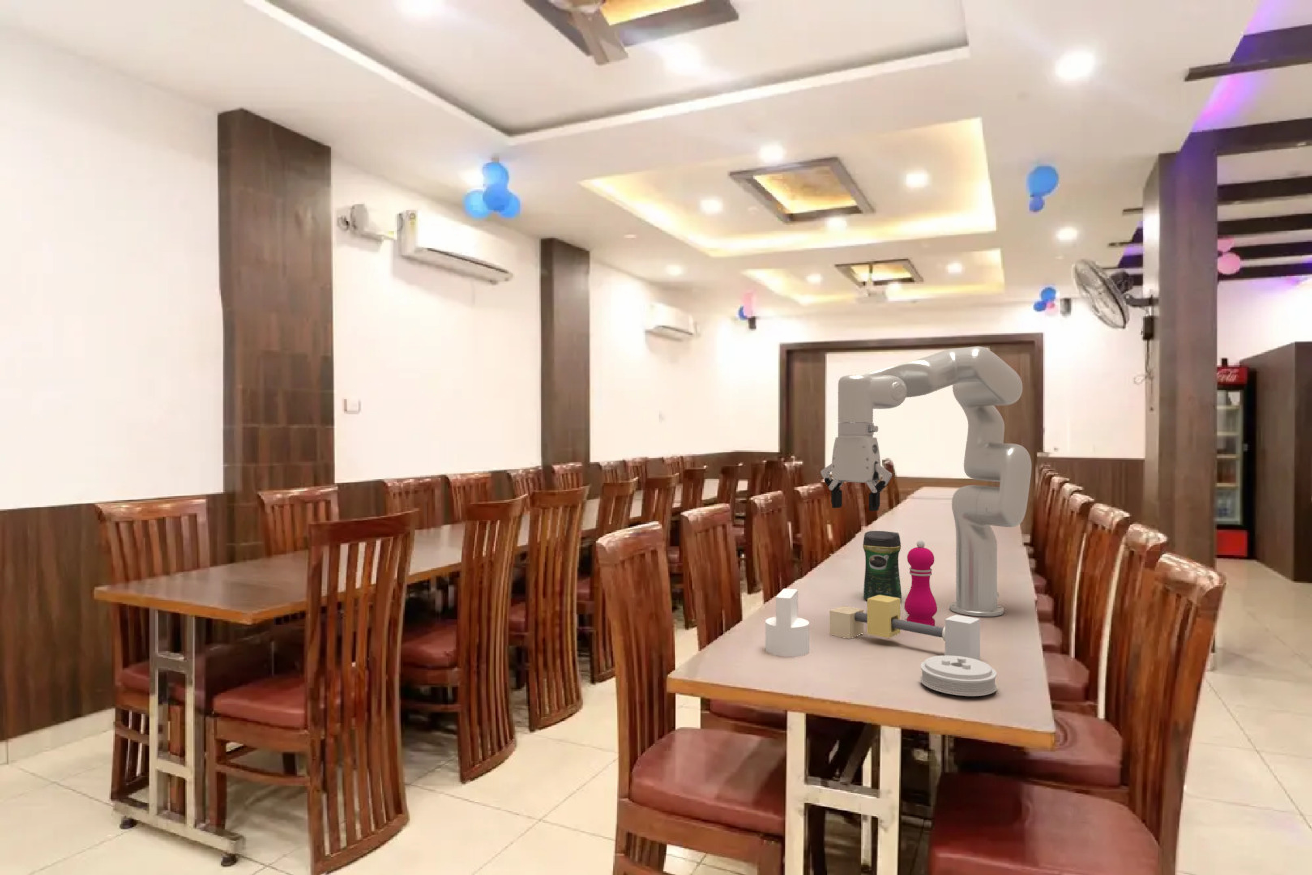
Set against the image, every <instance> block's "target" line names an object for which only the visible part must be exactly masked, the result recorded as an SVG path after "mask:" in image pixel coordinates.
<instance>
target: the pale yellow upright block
mask: <svg viewBox="0 0 1312 875" xmlns="http://www.w3.org/2000/svg"><path fill="white" fill-rule="evenodd" d="M866 603H867V608H866V611H867V612H866V614H867V623H866V624H867V625H866V627H867V628H866V629H867V630H866V631H867V632H866V633H867V635H872V636H876V637H881V638H887V639H890V638H892V637H895V636H897V635H899V634H900V635H901V630H900V629H895V628H891V618H893V619H899V620H901V600H900V598H896V597H890V596H883V595H877V596H874V597H871V598H868V599H867V600H866Z"/></svg>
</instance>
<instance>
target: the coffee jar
mask: <svg viewBox="0 0 1312 875" xmlns="http://www.w3.org/2000/svg"><path fill="white" fill-rule="evenodd" d="M901 542H902V541H901V538H900V533H899V532H893V531H885V530H869V531H867V532H865V533H864V536H863V542H862V548H863V551H864V556H865V566H864V567H865V569H864V581H863V582H864V583H863V592H862V593H863V594H862V595H863V596H862V597H863V598H864V599H865V600H866V601H867V599H868V598H871V597H874V596H877V595H883V596H890V597H896V598H900V601H901V600H902V586H901V579H900V569H899V568H900V567H899V555H900V552H901V549H902V543H901Z"/></svg>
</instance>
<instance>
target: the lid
mask: <svg viewBox="0 0 1312 875" xmlns="http://www.w3.org/2000/svg"><path fill="white" fill-rule="evenodd" d="M919 668H920V670H921V676H920V682H921V684H922V685H924V686H925V687H927V688H929V689H931V690H934V691H937V692H941V693H942V694H943V693H944V694H949V695H953V696H954V695H955V696H962V697H963V696H965V697H979V696H980V697H981V696H987V695H990V694H994V693H995V692H996V691H997V688H998V687H997V684H996V682H995V681H996V678H997V676H998V674H997V671H996V670H995V669H994V668H992V666H991V665H990V664H988V663H986V662H985V661H981V660H980V659H978V660H976V659H972V658H968V657H961V656H945V655H935V656H930V657H928V658H926V659H925V660H924V661H922V662H921V663H920V667H919Z"/></svg>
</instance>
